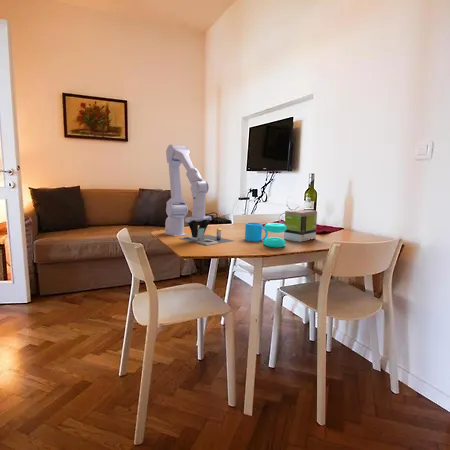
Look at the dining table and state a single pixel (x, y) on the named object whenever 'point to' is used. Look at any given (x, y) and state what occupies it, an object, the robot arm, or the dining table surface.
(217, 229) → the pin
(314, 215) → the tea box
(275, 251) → the dining table surface
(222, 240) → the mat
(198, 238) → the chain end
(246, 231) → the mug
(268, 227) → the donuts
